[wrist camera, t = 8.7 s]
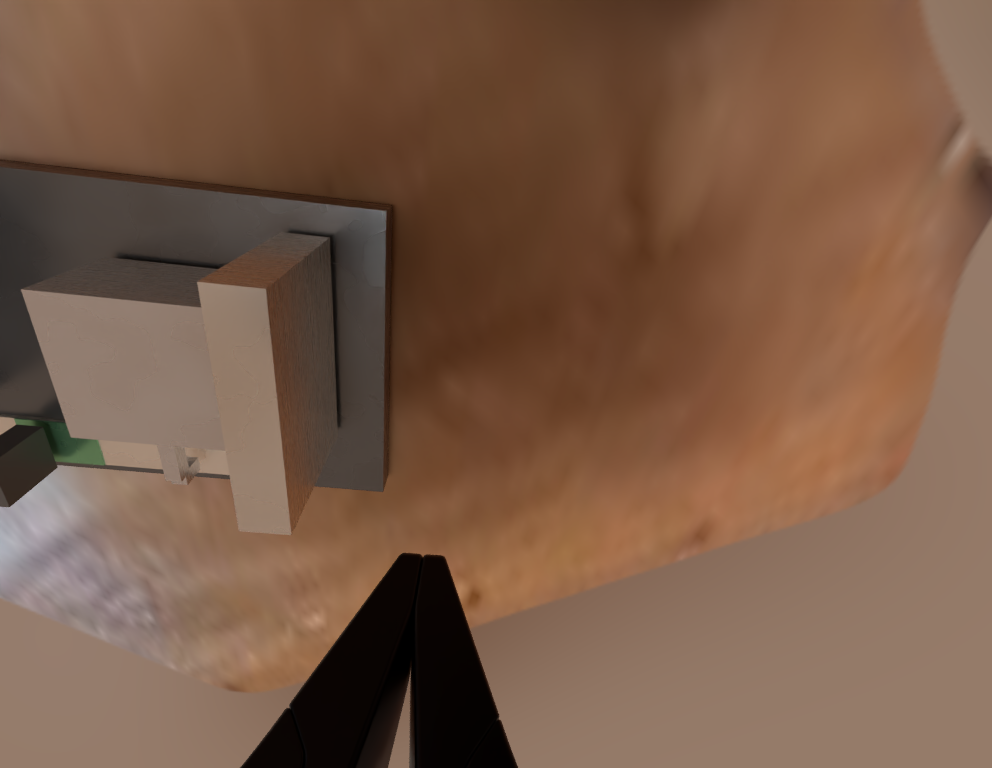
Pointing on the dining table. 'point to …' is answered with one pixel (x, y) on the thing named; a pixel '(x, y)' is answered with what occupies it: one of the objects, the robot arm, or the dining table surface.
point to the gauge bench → (200, 243)
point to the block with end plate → (203, 366)
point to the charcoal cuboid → (23, 461)
